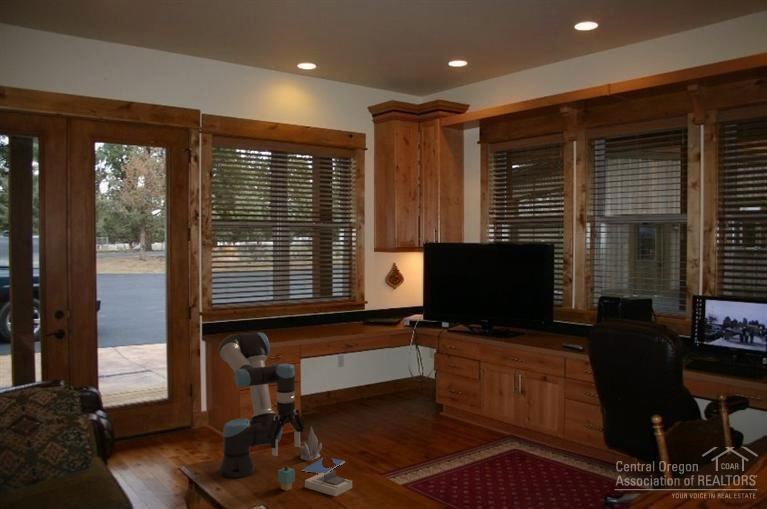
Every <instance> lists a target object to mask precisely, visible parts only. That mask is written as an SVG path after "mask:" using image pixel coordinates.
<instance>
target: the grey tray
mask: <svg viewBox="0 0 767 509" xmlns="http://www.w3.org/2000/svg"><path fill="white" fill-rule="evenodd" d="M324 475H325V473H320V474H318V475H317V474H315V475H314V476H311V477H309V478H307V479H305V480H304V488H306V489H310V490H311V491H312V490H313V491H316V492H318V493H319V492H320V493H323V494H327V495H330V496H333V497H338V496H340V495H341V494H344V493H345V492H347V491H349V490H351V489H353V480H350V479H346V478H344V479H345V481H344V482H342V483H340V484H338V485H336V486H335V485H331V484H328V483H324Z"/></svg>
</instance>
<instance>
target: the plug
mask: <svg viewBox="0 0 767 509" xmlns="http://www.w3.org/2000/svg"><path fill="white" fill-rule="evenodd" d="M277 482H278V483H280V489H281V490H284V491H288V490H291V489H292V488H293V483H294V482H296V469H294V468H290V467H289V465H284V467H282V468H281V469H278V470H277Z"/></svg>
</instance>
